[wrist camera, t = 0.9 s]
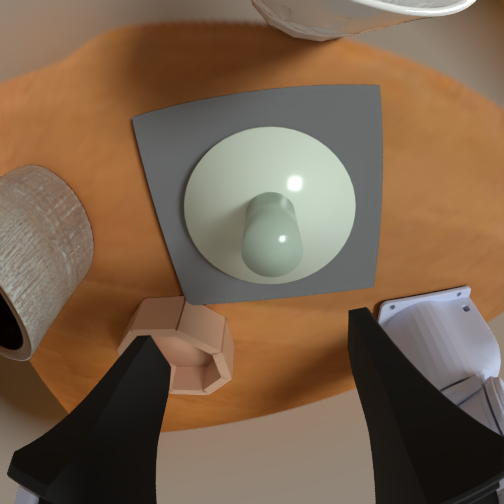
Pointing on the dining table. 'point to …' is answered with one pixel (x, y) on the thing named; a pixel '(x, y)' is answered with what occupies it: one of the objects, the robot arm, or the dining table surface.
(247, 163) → the lid
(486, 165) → the dining table surface
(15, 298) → the planter
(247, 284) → the mat
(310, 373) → the dining table surface
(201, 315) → the bowl
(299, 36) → the white cup
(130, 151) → the dining table surface
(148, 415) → the robot arm
